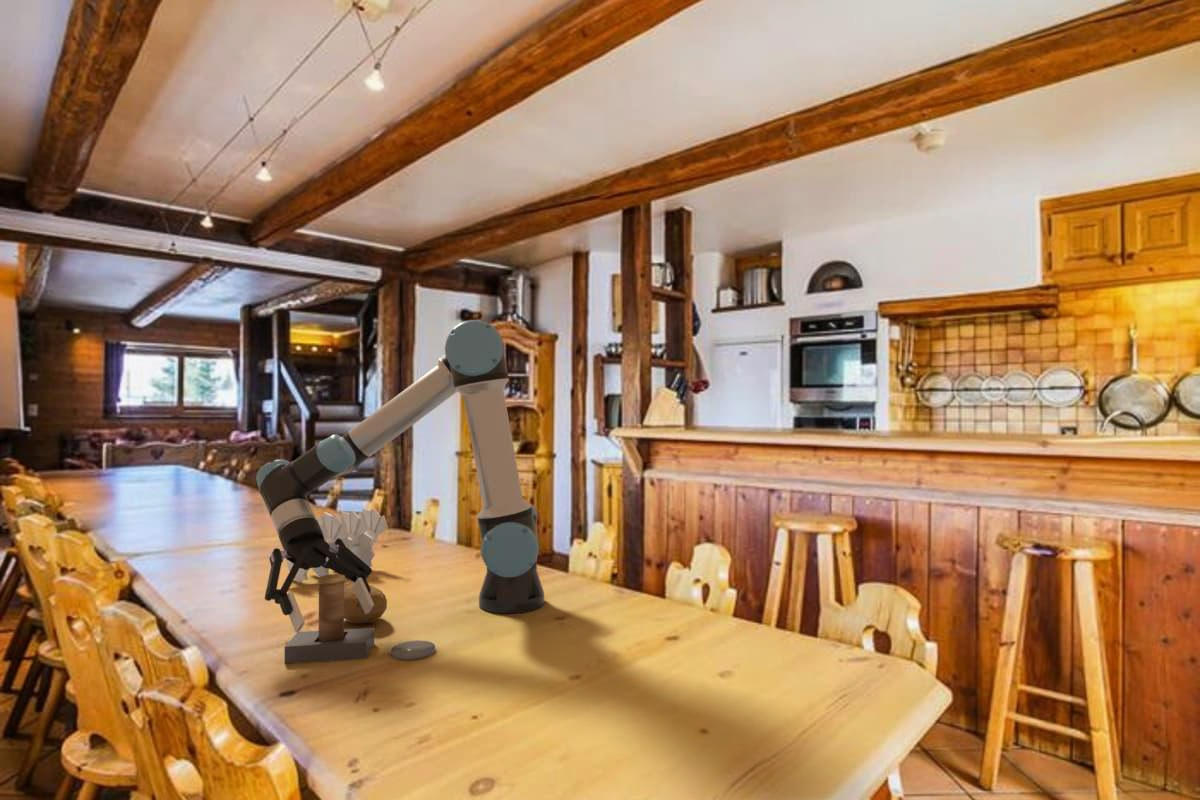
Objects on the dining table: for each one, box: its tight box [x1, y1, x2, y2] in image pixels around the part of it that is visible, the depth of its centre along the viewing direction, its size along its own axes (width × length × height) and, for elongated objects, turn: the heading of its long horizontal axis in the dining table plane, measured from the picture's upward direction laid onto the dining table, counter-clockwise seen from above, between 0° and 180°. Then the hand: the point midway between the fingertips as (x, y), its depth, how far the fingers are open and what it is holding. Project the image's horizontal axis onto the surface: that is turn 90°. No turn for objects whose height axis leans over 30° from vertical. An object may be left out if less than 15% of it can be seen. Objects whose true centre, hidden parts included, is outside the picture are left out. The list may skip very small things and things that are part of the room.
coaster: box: [390, 639, 436, 661], centre depth 122 cm, size 8×8×1 cm
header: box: [284, 627, 375, 664], centre depth 122 cm, size 14×8×3 cm, turn 99°
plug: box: [317, 573, 346, 642], centre depth 122 cm, size 5×5×14 cm
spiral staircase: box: [284, 507, 389, 584], centre depth 180 cm, size 18×18×25 cm
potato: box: [344, 580, 388, 624], centre depth 140 cm, size 10×14×8 cm
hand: (336, 618), depth 121 cm, fingers open, 13 cm apart
